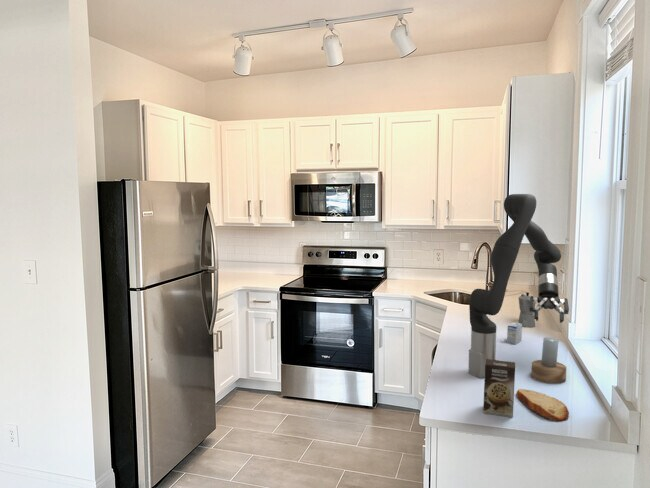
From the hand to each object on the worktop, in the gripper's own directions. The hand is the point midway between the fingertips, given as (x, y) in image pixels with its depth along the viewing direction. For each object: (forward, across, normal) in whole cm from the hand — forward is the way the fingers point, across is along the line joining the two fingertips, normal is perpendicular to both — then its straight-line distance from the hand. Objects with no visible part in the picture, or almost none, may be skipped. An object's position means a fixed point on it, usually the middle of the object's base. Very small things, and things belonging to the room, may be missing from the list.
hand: (549, 320), depth 187 cm
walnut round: (+20, 0, +9) cm, 22 cm away
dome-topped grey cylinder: (+16, 0, +6) cm, 17 cm away
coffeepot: (-36, -6, +65) cm, 74 cm away
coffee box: (+47, -17, -18) cm, 53 cm away
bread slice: (+41, -5, -11) cm, 42 cm away
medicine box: (-11, -12, +40) cm, 43 cm away
